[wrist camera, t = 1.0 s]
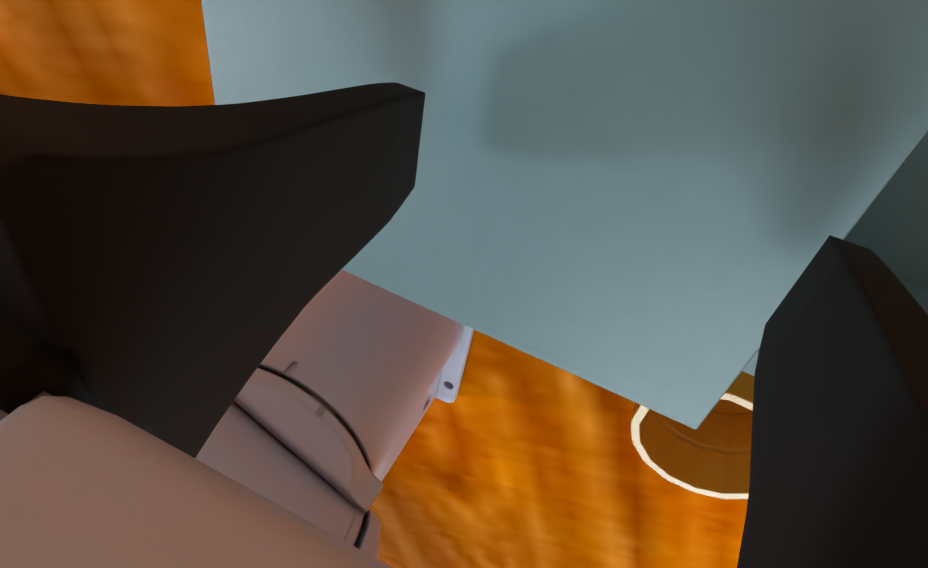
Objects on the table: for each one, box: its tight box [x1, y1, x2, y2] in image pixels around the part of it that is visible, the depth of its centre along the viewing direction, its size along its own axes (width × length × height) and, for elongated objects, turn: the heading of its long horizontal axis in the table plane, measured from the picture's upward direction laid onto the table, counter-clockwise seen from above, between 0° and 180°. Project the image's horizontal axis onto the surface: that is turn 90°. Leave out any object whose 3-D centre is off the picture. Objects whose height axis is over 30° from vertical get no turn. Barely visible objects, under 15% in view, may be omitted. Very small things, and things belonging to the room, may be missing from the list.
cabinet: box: [201, 0, 928, 429], centre depth 14 cm, size 14×12×9 cm
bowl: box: [630, 371, 754, 499], centre depth 22 cm, size 5×5×4 cm
